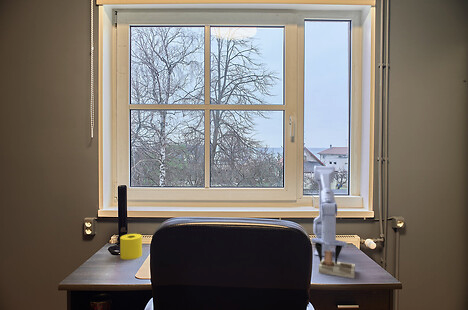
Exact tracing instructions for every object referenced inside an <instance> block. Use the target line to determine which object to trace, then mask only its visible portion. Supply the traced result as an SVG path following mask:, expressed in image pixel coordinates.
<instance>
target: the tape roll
mask: <svg viewBox="0 0 468 310" xmlns="http://www.w3.org/2000/svg"><path fill="white" fill-rule="evenodd" d="M119 238H120V239H119V240H120V241H119V242H120V244H119V246H120V249H119V250H120V259H122V260H125V261H126V260H128V261H129V260H135V259H139V258H141V257H142V256H143V235H142V234H140V233H128V234H124V235H121V236H120V237H119Z"/></svg>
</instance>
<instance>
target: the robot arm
mask: <svg viewBox="0 0 468 310" xmlns="http://www.w3.org/2000/svg"><path fill="white" fill-rule="evenodd" d="M335 176H336V167H335V166H334V165H314V167H313V180H314V181H313V182H314V183H316V184H317V185H318V209H319V210H318V214H319V215H318V216H317V217H315V218H313V219H314V220H313V224H312V225H313V227H312V228H313V229H312V230H313V235H314V236H315V237H311V239H310V243H311V242H312V243H311V244H314V247H315V251H314V255H315V256H318V258H319V262H320V261H322V259H323V257H324V251H332V253H333V251H334V250H332V247H335V248H334V249H335V257H334V261H335V264H337V262H338V258H339V255H340V253H341V252H342V249H343V248H344V249H346V248H347V244H348V243H347V241H343V240H338V239H336V236H337V235H336V227H337V226H336V225H337V224H336V222H337V221H336V219H337V215H338V203H337V201H336V200H335V199H336V198H335V192H334V190H332V188H331V186H332V185H331V184H332V183H333V182H334V179H335Z"/></svg>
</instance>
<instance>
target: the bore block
mask: <svg viewBox="0 0 468 310" xmlns="http://www.w3.org/2000/svg"><path fill="white" fill-rule="evenodd" d="M355 266H356V264H355V263H351V262H349V263H348V262H343V261H337V264H335V260H332V266H328V265H324V259H323V258H322V261H320V260H319V264H318V273H319V274H325V275H331V276H336V277H344V278H350V279H355V274H356V273H355V272H356V269H355V268H356V267H355Z"/></svg>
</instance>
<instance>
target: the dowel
mask: <svg viewBox="0 0 468 310" xmlns="http://www.w3.org/2000/svg"><path fill="white" fill-rule="evenodd" d="M323 257H324V259H323V260H324V265H328V266H332V261H333V252H332V251H324V256H323Z"/></svg>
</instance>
